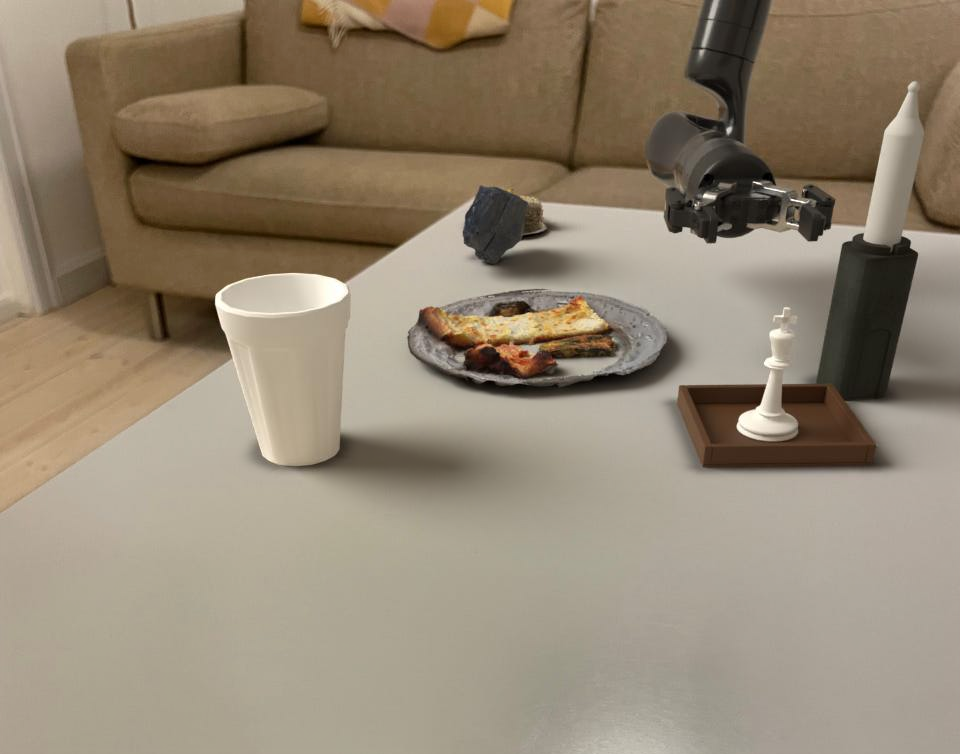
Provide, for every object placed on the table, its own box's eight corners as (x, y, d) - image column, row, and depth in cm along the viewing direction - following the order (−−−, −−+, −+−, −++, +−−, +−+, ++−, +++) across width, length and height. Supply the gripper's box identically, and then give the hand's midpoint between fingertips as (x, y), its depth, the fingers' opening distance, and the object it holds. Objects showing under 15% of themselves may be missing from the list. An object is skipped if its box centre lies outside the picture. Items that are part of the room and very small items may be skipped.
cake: (457, 236, 138) (454, 192, 136) (504, 221, 145) (502, 180, 142) (515, 242, 133) (513, 197, 130) (562, 227, 139) (561, 184, 136)
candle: (834, 407, 91) (899, 87, 76) (810, 385, 95) (868, 77, 80) (889, 403, 92) (964, 85, 77) (862, 381, 96) (929, 75, 81)
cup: (228, 440, 87) (202, 281, 79) (344, 421, 90) (330, 266, 82) (253, 492, 79) (227, 323, 71) (379, 469, 82) (367, 304, 74)
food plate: (428, 412, 91) (427, 373, 89) (391, 323, 109) (389, 290, 107) (698, 387, 95) (703, 349, 93) (619, 306, 113) (621, 273, 111)
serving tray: (827, 408, 91) (832, 383, 90) (870, 472, 81) (877, 444, 80) (676, 409, 91) (679, 384, 90) (701, 473, 81) (705, 446, 80)
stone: (482, 246, 132) (482, 162, 127) (529, 248, 132) (531, 163, 126) (461, 279, 121) (460, 188, 116) (512, 282, 120) (514, 190, 115)
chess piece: (735, 415, 88) (752, 296, 82) (794, 418, 87) (816, 299, 82) (738, 440, 84) (756, 317, 78) (800, 443, 83) (824, 320, 78)
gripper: (654, 145, 98) (683, 184, 85) (806, 142, 98) (858, 180, 85) (648, 228, 102) (675, 277, 89) (793, 225, 102) (841, 274, 89)
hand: (764, 230), depth 87 cm, fingers open, 8 cm apart
